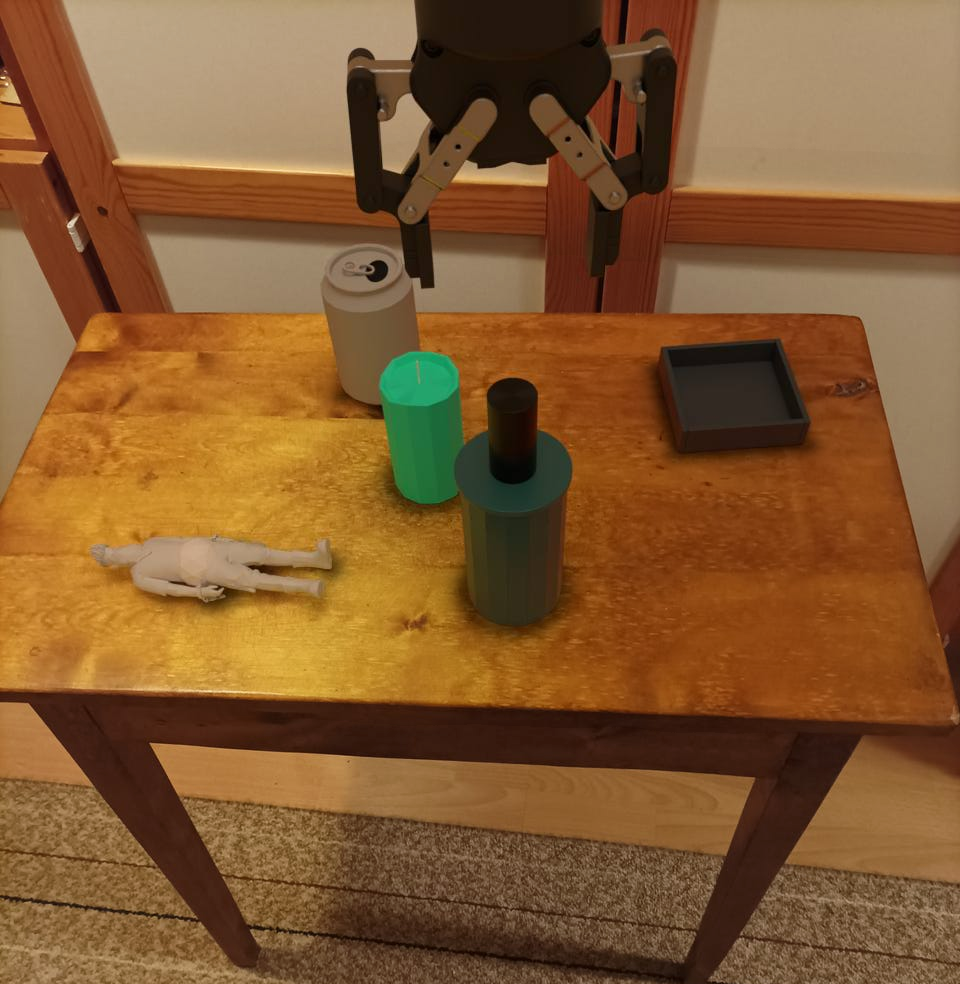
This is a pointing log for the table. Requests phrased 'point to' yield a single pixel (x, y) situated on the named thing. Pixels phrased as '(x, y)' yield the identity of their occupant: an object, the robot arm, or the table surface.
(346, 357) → the can
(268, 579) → the figurine
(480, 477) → the pan lid
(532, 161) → the robot arm
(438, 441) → the candle
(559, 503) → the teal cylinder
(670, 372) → the square tray
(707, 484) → the table surface
